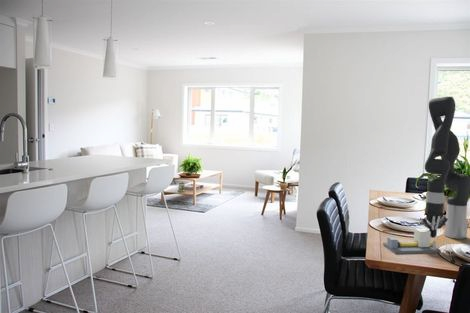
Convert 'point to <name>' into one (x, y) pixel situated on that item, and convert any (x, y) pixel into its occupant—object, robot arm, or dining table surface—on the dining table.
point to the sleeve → (422, 237)
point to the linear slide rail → (409, 247)
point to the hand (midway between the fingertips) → (432, 237)
